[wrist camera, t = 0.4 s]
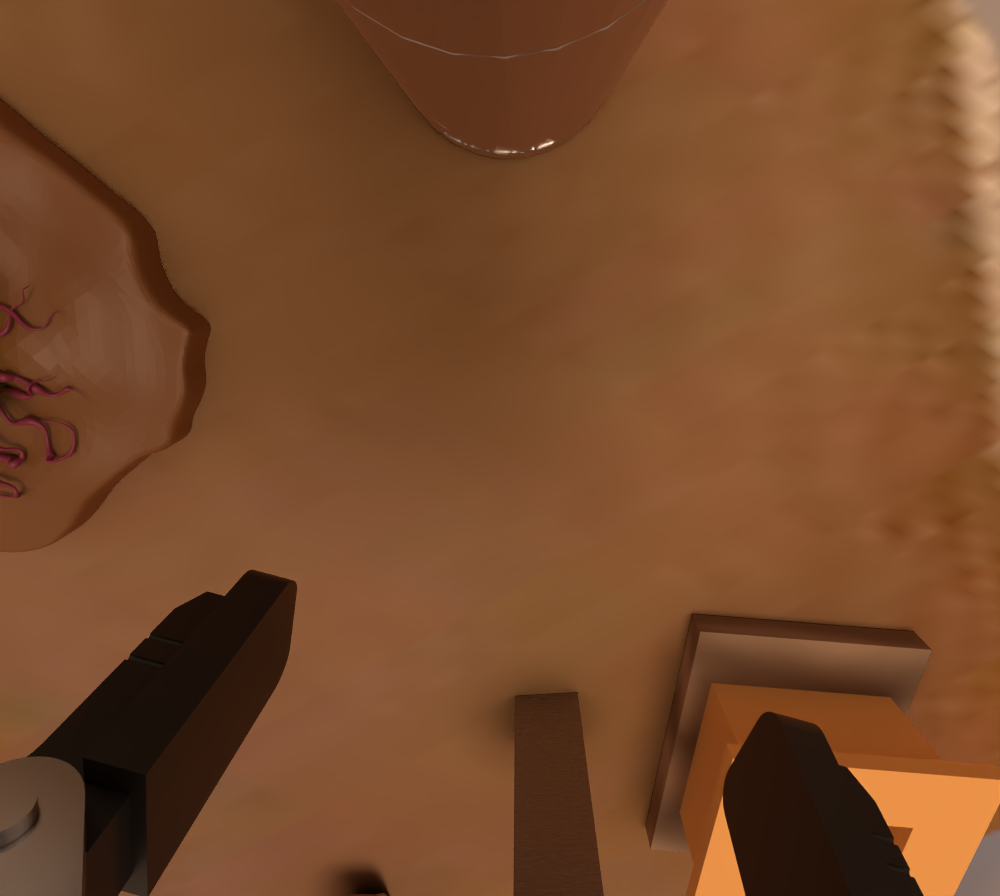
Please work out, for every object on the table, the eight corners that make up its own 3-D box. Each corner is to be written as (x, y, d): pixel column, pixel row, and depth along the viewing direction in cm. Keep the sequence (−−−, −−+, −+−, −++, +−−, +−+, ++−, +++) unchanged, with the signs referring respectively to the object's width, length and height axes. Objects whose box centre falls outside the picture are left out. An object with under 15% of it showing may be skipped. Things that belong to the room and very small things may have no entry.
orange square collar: (693, 662, 31) (732, 758, 25) (919, 681, 31) (1010, 780, 25) (656, 825, 35) (682, 939, 29) (856, 841, 35) (921, 958, 29)
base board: (692, 613, 31) (700, 631, 30) (913, 631, 31) (932, 650, 30) (645, 825, 37) (650, 849, 35) (834, 841, 37) (846, 865, 35)
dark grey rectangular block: (515, 696, 34) (513, 925, 22) (577, 692, 33) (607, 923, 22) (520, 743, 35) (521, 985, 24) (580, 740, 35) (610, 982, 23)
